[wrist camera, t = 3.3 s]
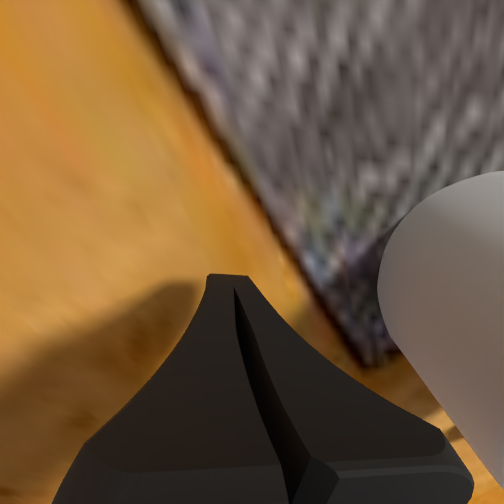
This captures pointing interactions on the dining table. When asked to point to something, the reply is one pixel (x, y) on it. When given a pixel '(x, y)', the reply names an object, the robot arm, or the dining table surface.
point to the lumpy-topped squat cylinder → (454, 306)
